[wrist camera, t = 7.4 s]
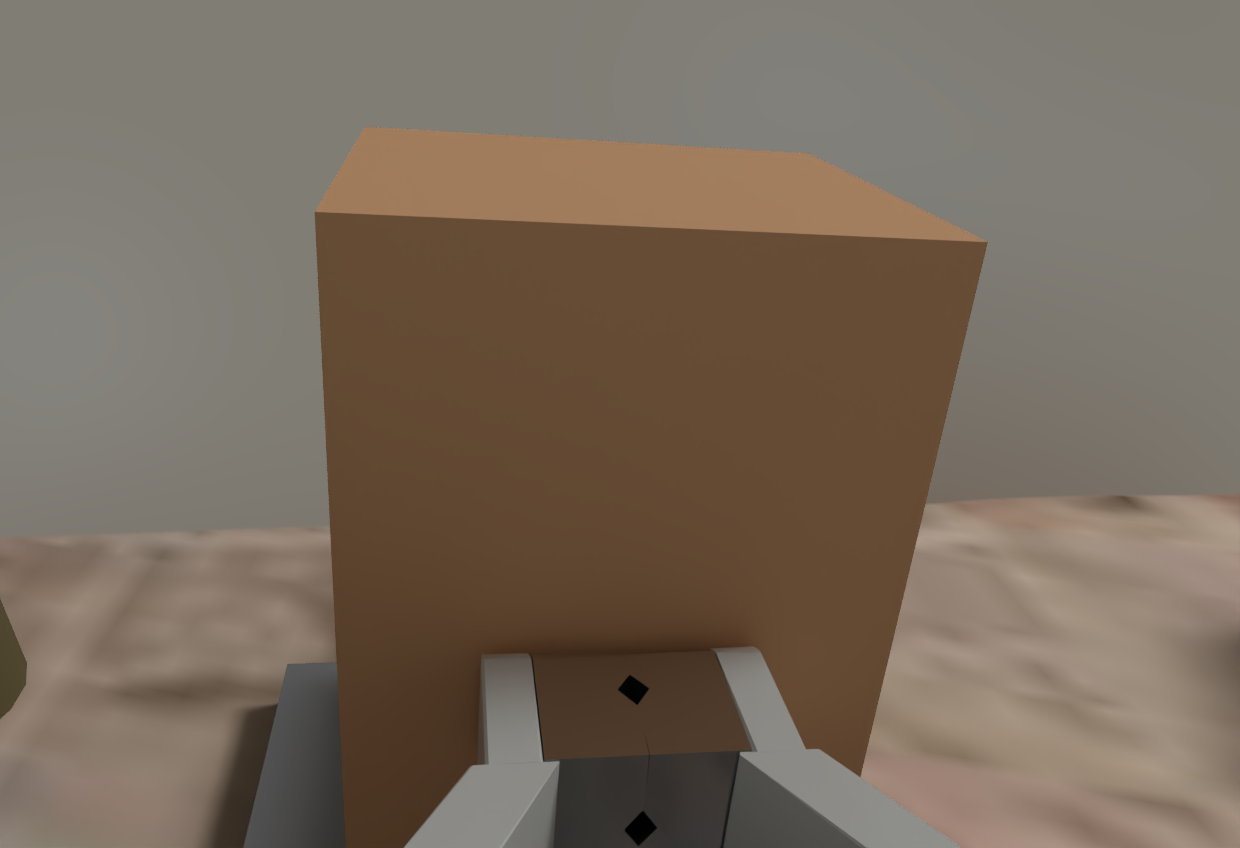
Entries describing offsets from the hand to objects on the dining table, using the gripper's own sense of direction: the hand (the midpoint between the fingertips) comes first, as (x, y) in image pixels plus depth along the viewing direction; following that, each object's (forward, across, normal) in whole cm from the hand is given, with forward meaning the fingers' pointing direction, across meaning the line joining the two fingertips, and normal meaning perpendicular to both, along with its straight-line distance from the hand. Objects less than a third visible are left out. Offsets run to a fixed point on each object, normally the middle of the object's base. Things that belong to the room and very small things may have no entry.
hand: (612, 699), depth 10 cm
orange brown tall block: (+2, 0, +9) cm, 10 cm away
